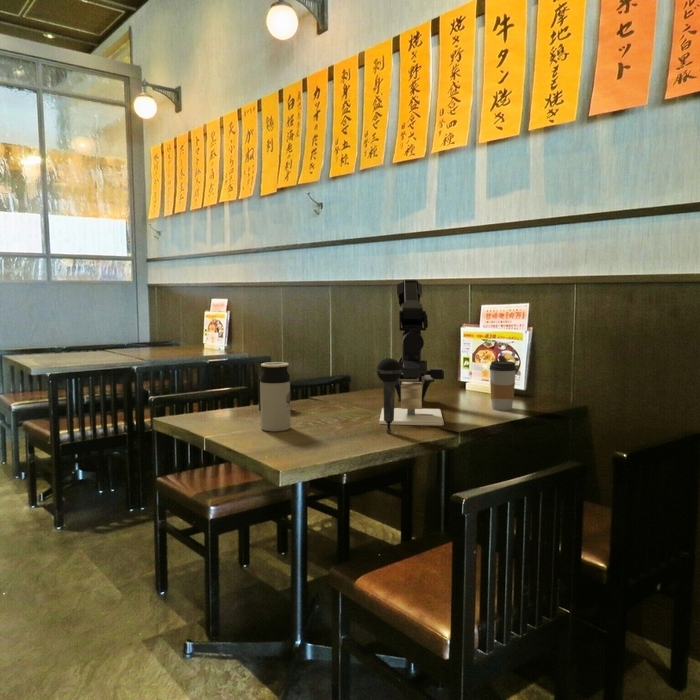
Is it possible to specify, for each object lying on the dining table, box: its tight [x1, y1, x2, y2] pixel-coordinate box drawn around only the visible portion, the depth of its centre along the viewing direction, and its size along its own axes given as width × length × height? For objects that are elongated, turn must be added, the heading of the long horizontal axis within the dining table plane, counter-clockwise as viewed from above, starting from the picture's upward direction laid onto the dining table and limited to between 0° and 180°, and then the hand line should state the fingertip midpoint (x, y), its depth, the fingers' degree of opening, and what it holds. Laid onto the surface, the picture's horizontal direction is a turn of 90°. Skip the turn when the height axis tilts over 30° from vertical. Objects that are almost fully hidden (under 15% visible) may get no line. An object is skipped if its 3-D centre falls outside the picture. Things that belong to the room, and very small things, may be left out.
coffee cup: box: [489, 360, 517, 412], centre depth 182 cm, size 8×8×15 cm
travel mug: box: [259, 361, 291, 433], centre depth 156 cm, size 8×8×18 cm
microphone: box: [375, 357, 402, 434], centre depth 151 cm, size 7×7×20 cm
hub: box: [378, 407, 445, 426], centre depth 170 cm, size 18×18×6 cm
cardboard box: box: [400, 382, 423, 409], centre depth 169 cm, size 6×6×7 cm
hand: (411, 401), depth 169 cm, fingers closed on cardboard box, 6 cm apart
